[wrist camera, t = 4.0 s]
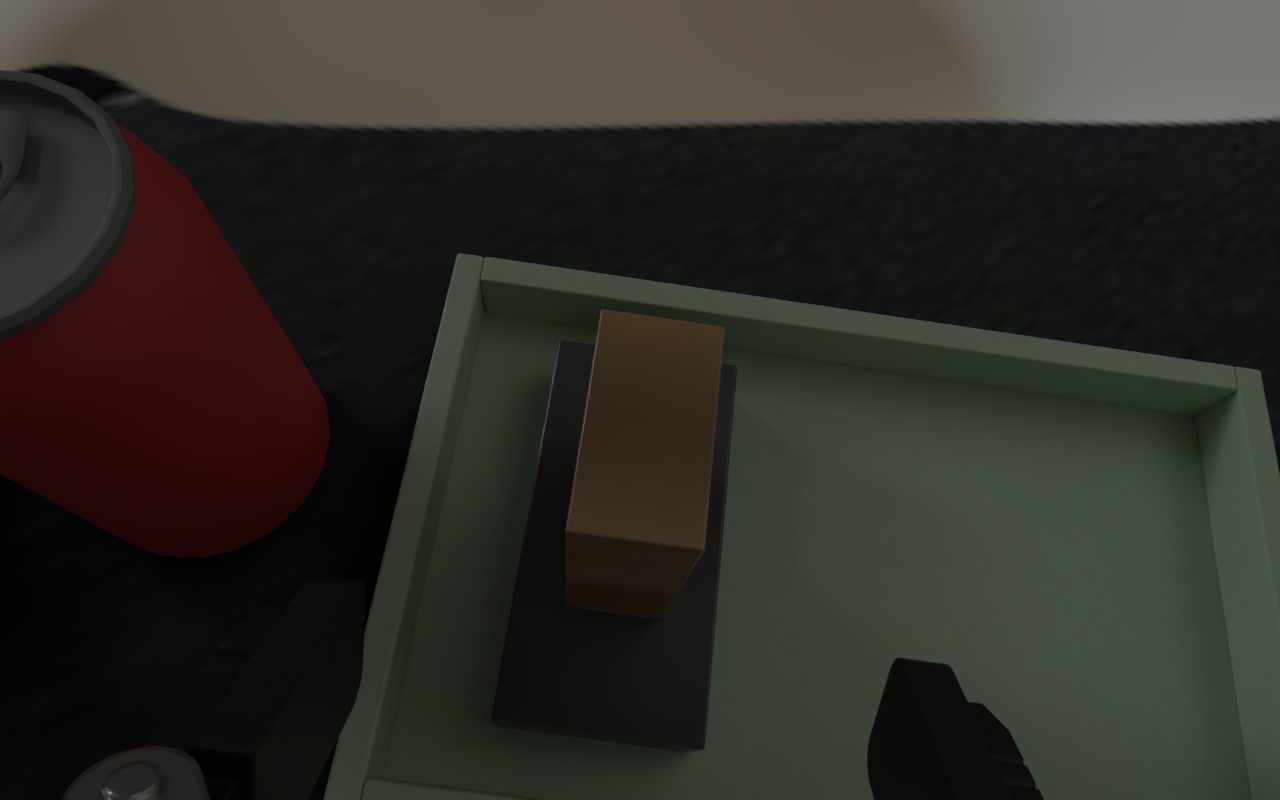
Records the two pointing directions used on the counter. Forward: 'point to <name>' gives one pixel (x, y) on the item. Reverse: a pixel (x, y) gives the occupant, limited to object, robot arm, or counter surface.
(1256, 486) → the tray
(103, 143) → the beer can
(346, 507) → the counter surface
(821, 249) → the counter surface
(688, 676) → the eraser
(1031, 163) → the counter surface
